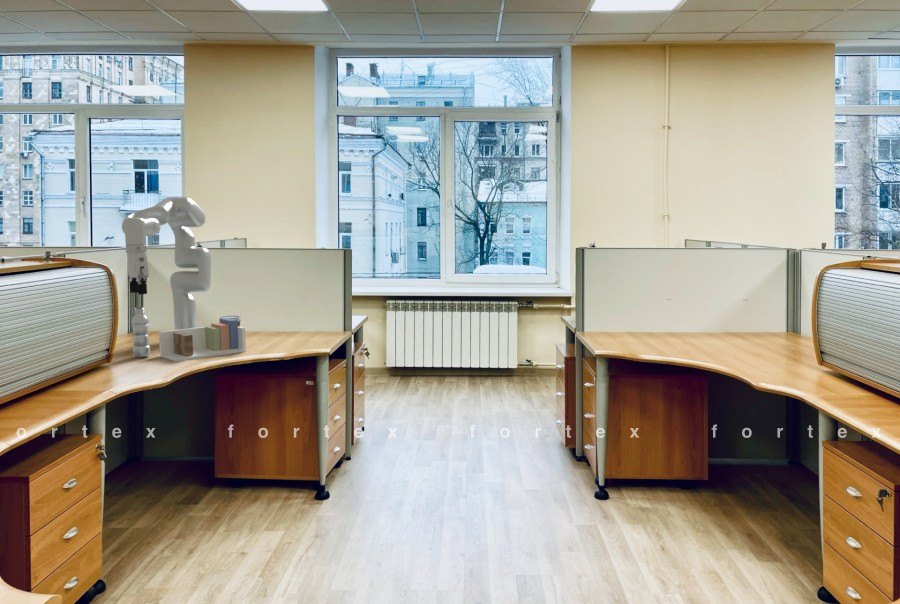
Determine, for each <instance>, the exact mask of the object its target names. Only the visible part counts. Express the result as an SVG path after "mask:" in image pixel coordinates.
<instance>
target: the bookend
mask: <svg viewBox="0 0 900 604" xmlns="http://www.w3.org/2000/svg"><path fill="white" fill-rule="evenodd" d="M173 334H174V352H175V353H178V354H181V355H185V356H189V355H193V339H192V335H190V334H186V333H182V332H177V333H173Z"/></svg>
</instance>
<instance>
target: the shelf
mask: <svg viewBox="0 0 900 604" xmlns="http://www.w3.org/2000/svg"><path fill="white" fill-rule="evenodd" d="M219 320H220V321H219V322H212V323H210V325H209V326H202V327H197V328H190V329H181V330H175V329H173V330H163V331H158V344H159V357H160V358H163V359H167V360H170V361H173V362H182V361H187V360H188V361H190V360H195V359H202V358H209V357H210V358H211V357H216V356H223V355H232V354H239V353H245V352H247V349H246V348H247V347H246V346H247V345H246V344H247V343H246V341H247V340H246V327H243V326H240V327H238V322H237V320H234V319H229V318H221V319H220V318H219ZM177 332H182V333H186V334H190V335H192V339H193V355H189V356H185V355H181V354H178V353H175V352H174V334H173V333H177Z"/></svg>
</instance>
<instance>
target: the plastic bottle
mask: <svg viewBox="0 0 900 604" xmlns="http://www.w3.org/2000/svg"><path fill="white" fill-rule="evenodd" d="M145 312H146V311H145V307H134V313H135V314H134V315H133V316H132V318H131V326H132V330H133V331H132V332H133V347H132V354H133V356H134V357H135V358H146V357H149V356H150V354H151V346H150V341H149V325H150V320H149V318H148V317H147V315H146V314H145Z"/></svg>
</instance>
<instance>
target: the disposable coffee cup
mask: <svg viewBox="0 0 900 604" xmlns="http://www.w3.org/2000/svg"><path fill="white" fill-rule="evenodd" d="M221 318H229V319H234V320H237V322H238V327H241V321H242V318H241V315H223V316H219V320H218V321H219V322H220V319H221Z"/></svg>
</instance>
